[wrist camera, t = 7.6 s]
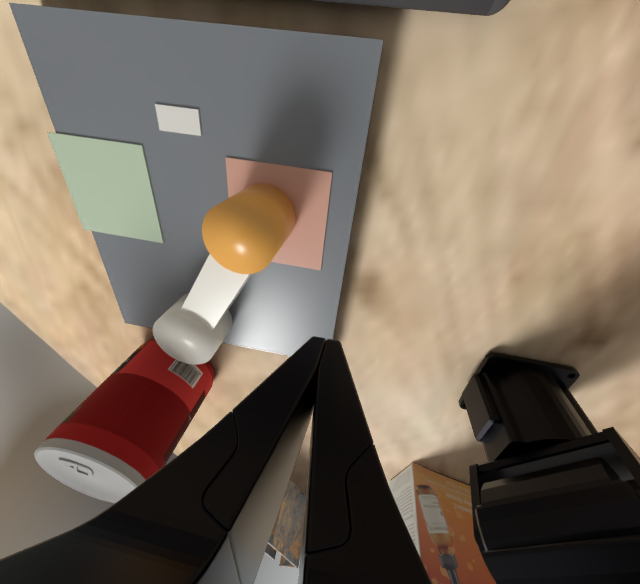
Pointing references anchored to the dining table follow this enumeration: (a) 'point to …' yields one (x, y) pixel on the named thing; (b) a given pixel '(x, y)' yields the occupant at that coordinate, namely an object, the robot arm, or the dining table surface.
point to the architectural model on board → (288, 528)
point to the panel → (207, 153)
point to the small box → (440, 525)
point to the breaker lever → (225, 270)
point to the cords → (437, 5)
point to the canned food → (126, 424)
